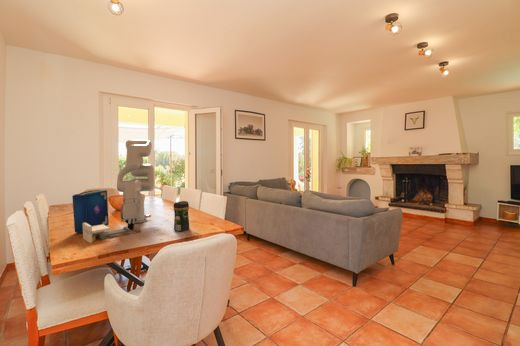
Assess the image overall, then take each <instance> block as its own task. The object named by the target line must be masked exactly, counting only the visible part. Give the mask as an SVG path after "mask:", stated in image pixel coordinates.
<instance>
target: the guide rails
mask: <svg viewBox="0 0 520 346" xmlns="http://www.w3.org/2000/svg"><path fill="white" fill-rule="evenodd" d="M141 231H142V230H141V229H137V230H135V227H134V228H133V230H130V232H126V233H121V234H116V235H111V236H109V238H108V239H113V238H118V237H122V236H128V235H132V234H136V233H141Z"/></svg>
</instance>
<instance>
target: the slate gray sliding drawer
mask: <svg viewBox="0 0 520 346" xmlns="http://www.w3.org/2000/svg"><path fill="white" fill-rule="evenodd" d="M122 227H123V228H119V229H115V230H107V231H104V232H103V233H97V236H96V237H97V238H98V239H99V240H103V239H107V238H108V239H110V238H109V236H111V235H116V234H121V233H126V232H131V230H130V229H129V228H128V226H122Z"/></svg>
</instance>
